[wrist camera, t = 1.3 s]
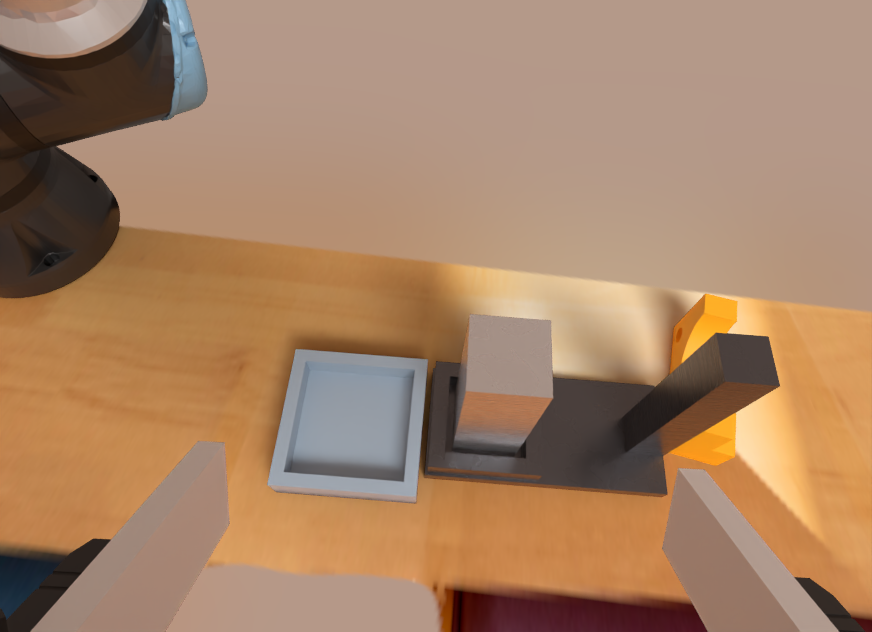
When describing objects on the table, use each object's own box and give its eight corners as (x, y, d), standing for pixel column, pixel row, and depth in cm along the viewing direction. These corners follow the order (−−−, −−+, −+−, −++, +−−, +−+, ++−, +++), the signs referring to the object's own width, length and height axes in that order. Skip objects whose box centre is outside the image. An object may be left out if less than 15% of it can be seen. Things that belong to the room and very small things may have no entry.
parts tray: (276, 492, 43) (267, 484, 40) (302, 362, 48) (295, 348, 45) (416, 503, 43) (416, 496, 40) (427, 372, 48) (427, 359, 45)
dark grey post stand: (424, 477, 44) (429, 411, 29) (432, 373, 48) (440, 266, 33) (661, 497, 44) (792, 440, 28) (649, 390, 48) (757, 291, 33)
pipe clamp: (714, 466, 45) (758, 446, 39) (662, 451, 46) (697, 429, 40) (720, 340, 51) (758, 306, 45) (673, 328, 51) (705, 293, 45)
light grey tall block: (451, 451, 44) (465, 391, 31) (455, 392, 46) (469, 314, 34) (514, 456, 44) (553, 398, 31) (514, 396, 46) (550, 320, 34)
